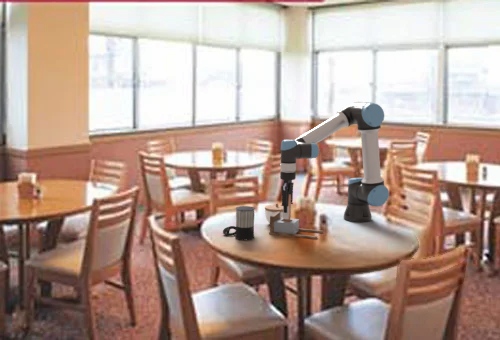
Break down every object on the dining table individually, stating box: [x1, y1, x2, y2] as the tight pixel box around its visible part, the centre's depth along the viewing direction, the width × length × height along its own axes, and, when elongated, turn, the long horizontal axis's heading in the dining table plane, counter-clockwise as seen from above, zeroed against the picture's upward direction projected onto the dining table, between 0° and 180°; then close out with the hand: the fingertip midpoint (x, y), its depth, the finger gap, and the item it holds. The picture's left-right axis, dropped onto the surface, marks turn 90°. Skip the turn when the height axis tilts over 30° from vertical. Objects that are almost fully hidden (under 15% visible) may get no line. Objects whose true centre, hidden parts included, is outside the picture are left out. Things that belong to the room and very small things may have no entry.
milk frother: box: [222, 205, 255, 241], centre depth 293 cm, size 14×16×15 cm
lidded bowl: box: [264, 202, 283, 224], centre depth 320 cm, size 13×13×11 cm
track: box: [268, 212, 324, 240], centre depth 301 cm, size 24×13×9 cm, turn 71°
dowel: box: [283, 194, 292, 222], centre depth 301 cm, size 4×4×16 cm
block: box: [274, 218, 300, 234], centre depth 303 cm, size 10×10×6 cm
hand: (286, 217), depth 302 cm, fingers closed on dowel, 3 cm apart
